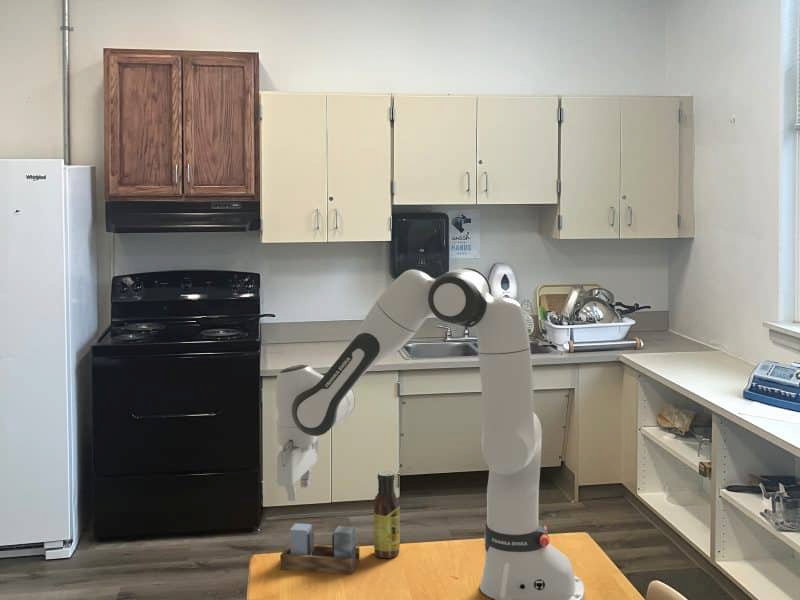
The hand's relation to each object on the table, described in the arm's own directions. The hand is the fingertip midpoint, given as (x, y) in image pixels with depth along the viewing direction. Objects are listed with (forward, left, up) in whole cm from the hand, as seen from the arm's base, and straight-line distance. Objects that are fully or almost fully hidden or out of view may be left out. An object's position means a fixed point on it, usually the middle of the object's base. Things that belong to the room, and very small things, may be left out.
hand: (299, 493), depth 203 cm
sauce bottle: (-19, -9, -17) cm, 27 cm away
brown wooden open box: (-5, 0, -17) cm, 18 cm away
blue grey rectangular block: (0, 0, -16) cm, 16 cm away
